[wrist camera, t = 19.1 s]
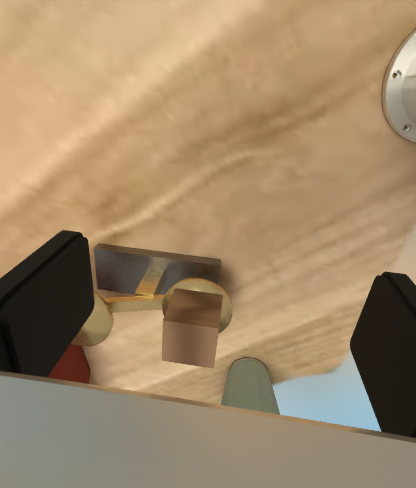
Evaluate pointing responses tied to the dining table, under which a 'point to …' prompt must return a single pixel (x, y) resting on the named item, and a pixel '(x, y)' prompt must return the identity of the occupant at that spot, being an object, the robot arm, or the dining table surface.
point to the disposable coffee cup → (249, 387)
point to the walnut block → (191, 328)
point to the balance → (146, 285)
